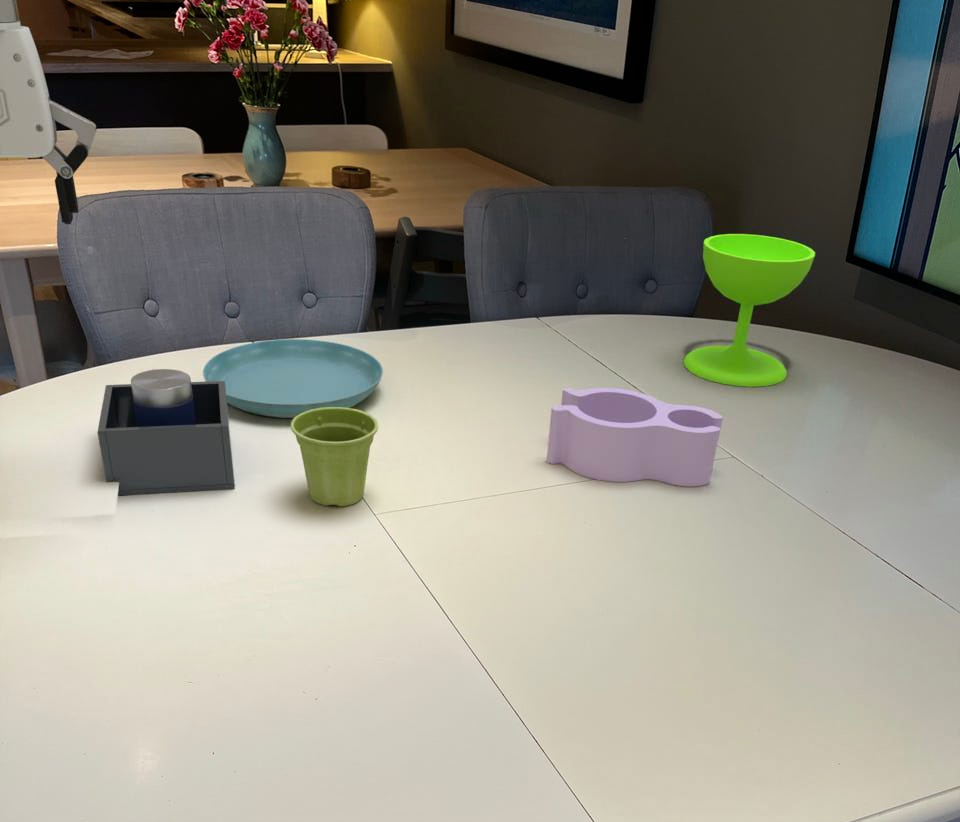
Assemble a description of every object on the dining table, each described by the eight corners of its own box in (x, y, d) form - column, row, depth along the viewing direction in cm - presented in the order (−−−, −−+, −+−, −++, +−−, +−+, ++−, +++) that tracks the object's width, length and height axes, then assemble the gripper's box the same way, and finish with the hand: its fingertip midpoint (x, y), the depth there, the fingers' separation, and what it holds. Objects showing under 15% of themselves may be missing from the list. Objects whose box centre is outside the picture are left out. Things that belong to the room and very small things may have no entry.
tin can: (142, 475, 112) (128, 391, 107) (144, 451, 118) (131, 369, 112) (201, 472, 114) (191, 388, 108) (200, 448, 119) (190, 367, 113)
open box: (108, 496, 109) (97, 431, 105) (116, 445, 120) (105, 384, 116) (234, 488, 112) (228, 425, 108) (230, 439, 123) (225, 380, 119)
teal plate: (169, 388, 135) (166, 364, 134) (304, 349, 151) (303, 328, 149) (283, 442, 123) (282, 417, 121) (418, 394, 138) (419, 371, 136)
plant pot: (395, 496, 113) (396, 425, 108) (332, 523, 107) (329, 449, 102) (341, 470, 118) (339, 400, 113) (277, 494, 112) (272, 421, 107)
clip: (715, 456, 126) (725, 404, 122) (706, 498, 116) (717, 443, 112) (562, 431, 130) (567, 380, 126) (541, 470, 120) (546, 416, 116)
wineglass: (718, 390, 146) (743, 264, 135) (664, 354, 158) (683, 236, 147) (808, 381, 151) (838, 259, 140) (748, 347, 163) (772, 232, 152)
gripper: (-157, 4, 79) (-96, 231, 89) (74, 14, 83) (107, 230, 92) (-132, -1, 85) (-78, 212, 94) (81, 8, 88) (112, 212, 98)
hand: (14, 221), depth 93 cm, fingers open, 9 cm apart
